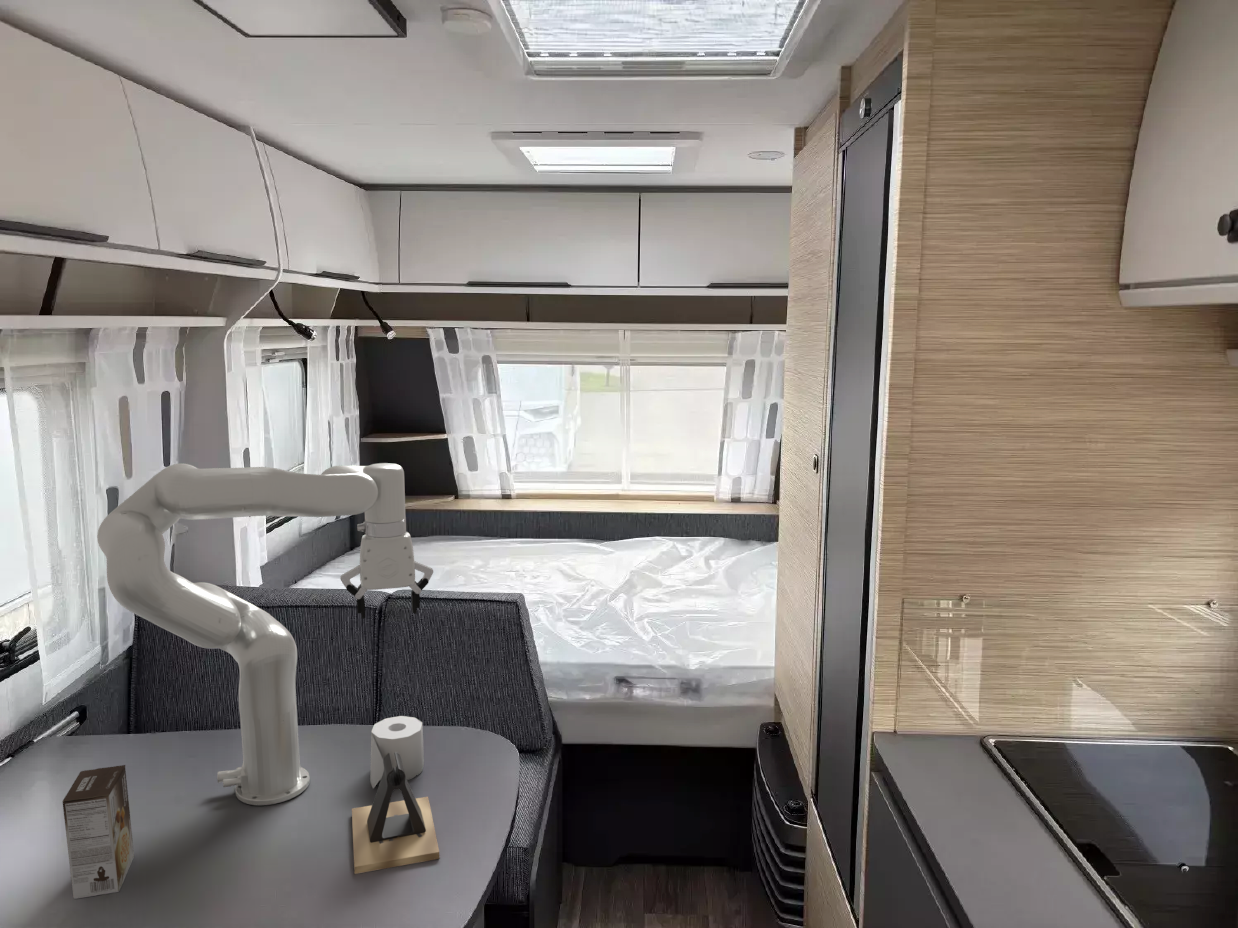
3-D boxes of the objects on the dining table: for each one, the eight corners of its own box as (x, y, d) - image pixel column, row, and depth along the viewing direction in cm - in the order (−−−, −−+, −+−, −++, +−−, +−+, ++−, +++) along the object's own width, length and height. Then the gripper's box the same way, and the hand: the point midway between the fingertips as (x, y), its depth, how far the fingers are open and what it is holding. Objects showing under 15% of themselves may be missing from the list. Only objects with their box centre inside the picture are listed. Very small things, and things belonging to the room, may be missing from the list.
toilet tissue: (365, 794, 158) (363, 749, 156) (379, 757, 171) (377, 716, 169) (416, 792, 158) (414, 748, 157) (425, 755, 172) (424, 715, 170)
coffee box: (89, 863, 137) (80, 768, 134) (135, 856, 139) (126, 763, 136) (71, 900, 128) (61, 800, 126) (120, 892, 130) (110, 793, 128)
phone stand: (369, 842, 141) (366, 774, 139) (367, 822, 147) (364, 756, 145) (426, 832, 144) (423, 765, 142) (421, 812, 150) (419, 748, 148)
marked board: (354, 873, 135) (354, 866, 135) (352, 814, 151) (351, 808, 151) (439, 858, 139) (439, 851, 139) (428, 802, 155) (428, 796, 155)
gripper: (338, 536, 160) (342, 625, 163) (434, 529, 165) (436, 616, 168) (338, 526, 167) (342, 612, 170) (429, 521, 172) (432, 603, 175)
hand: (388, 614), depth 169 cm, fingers open, 9 cm apart
